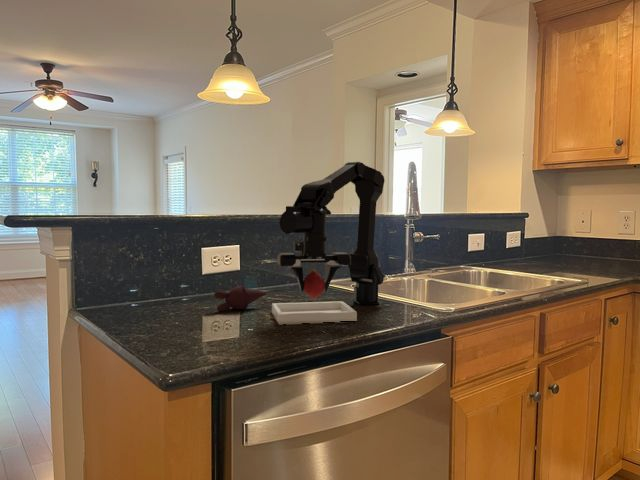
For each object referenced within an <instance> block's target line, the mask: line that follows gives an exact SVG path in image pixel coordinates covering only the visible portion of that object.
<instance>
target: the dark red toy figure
mask: <svg viewBox="0 0 640 480" xmlns="http://www.w3.org/2000/svg"><path fill="white" fill-rule="evenodd" d="M265 295H267V292H266V291H262V290H261V291H260V290H255V289H251V288H245V286H243V285H242V284H240V285H239V286H238V285H237V286H236V287H233V288H231V289H230V290H229V291H225V290H223V289H222V290H217V291H215V292H214V294H213V296H214V298H216V299H219V300H224V301H225V302H223V303H220V304H218V305H217V307H216V310H217V312H218V313H219V312H220V313H221V312H225V311H227V310H229V309H234V310H241V311H242V310H246V309H247V308H248V306H249V305H250V304H252V303H253V302H256V301H257V300H258V299H260V298H262V297H264V296H265Z"/></svg>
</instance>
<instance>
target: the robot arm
mask: <svg viewBox="0 0 640 480" xmlns="http://www.w3.org/2000/svg"><path fill="white" fill-rule="evenodd" d="M385 180H386V179H385V176H384V175H383V173H382V172H381V171H380V170H377V169H376V168H373V167H370V166H368V165H366V164H364V163H363V162H361V161H348V162H345V164H344V165H343V166H341V167H340V168H338V169H337V170H335V171H334V172H333V173H330V174H329V175H327V176H326V177H324V178H323V179H320V180H316V181H312V182H308V183H305V184H304V185H302V186H301V188H300V191H299V194H298V196H297V197H296V199H295V201H294V202H293V205H286V206H285V211H283V212H282V214H281V215H280V219H279V220H278V221H279V222H278V223H279V227H280V229H281V231H282V232H283V233H284V234H286V235H292V234H293V235H295V234H303V237H302V240H301V239H294V240H293V246H292V247H293V252H294V253H293V252H279V253H278V254H277V264H278V265H279V266H280V267H288V268H289V269H290V270H293V273H294V274H295V277H296V280H297V282H298V287H299V289H300V292H301V293H304V290H303V288H304V285H303V281H304V269H303V266H302V264H301V263H324V268H325V270H324V271H325V273H324V279H323V280H324V282H325V289H324V291H323V292H327V291H328V289H329V287H330V284H331V281H332V280H333V277H334V276H335V274H336V272H337V270H338V269H341V267H342V266H348V267H347V268H348V270H349V272H348V273H349V276H350V281H351V282H352V283H354V282H355V286H354V287H353V301H354V302H355V303H357V304H358V305H360V304H364V305H380V304H381V302H380V301H379V285H382V284H383V283H384V279H385V275H384V274H383V273H382V271H381V269H380V268H379V259H378V256H377V254H376V252H375V249H374V246H375V245H374V243H375V231H376V229H375V227H376V216H377V215H376V214H377V202H378V200H379V199H380V197H381V195H382V194H383V191H384V186H385V185H384V184H385ZM349 183H352V185H354V188H355V189H354V191H355V193H356V195H357V198H358V200H359V208H358V209H359V210H358V222H357V223H358V225H357V236H356V237H357V238H356V239H357V240H356V241H357V242H356V248H355V250H354V252H353V253H350V254H349V253H348V252H345V251H343V252H342V251H340V252H339V251H337V252H335V251H334V252H333V251H332V253H331V254H330V255H329V254H327V253H326V241H327V236H326V231H327V230H326V229H327V227H326V226H327V225H326V223H327V215H329V216H330V215H331V214H332V212H331V210H329V209H328V208H327V206H328V204H329V203H331V201H332V200H333V199H334V198H335V193H336V192H338V191H340V189H343V188H344V187H345V186H346V185H348V184H349ZM295 253H300V255H296V254H295ZM379 303H380V304H379Z"/></svg>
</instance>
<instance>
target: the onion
mask: <svg viewBox="0 0 640 480" xmlns="http://www.w3.org/2000/svg"><path fill="white" fill-rule="evenodd" d="M324 280H325V279H324V278H323V276H321V274H320V273H319V272H317V271H316V270H315V268H312V269H311V271H310V272H309V273H308V274H307V275H306V276H305V277H304V278H303V285H304V288H303V292H304V293H305V294H306V295H307V296H308V297H309V298H310V299H311V300H314V299H317V298H318V297H320V296H321V295H322V294H323V293H324V292H325V291H324V289H325V282H324Z"/></svg>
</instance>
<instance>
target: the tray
mask: <svg viewBox="0 0 640 480" xmlns="http://www.w3.org/2000/svg"><path fill="white" fill-rule="evenodd" d="M271 313H272V315H273V317H274V319H275V320H276V322H277V323H278V325H280V326H282V325H283V324H286V325H303V324H302V323H310V324H324V323H323V322H335V323H341V322H340V321H358V320H357V319H358V318H357V317H358V312H357V311H356V309H354V308H352V307H351V306H350V305H348V304H347V303H346V302H344V301H343V300H342V301H341V300H340V301H338V300H337V301H312V302H311V301H310V302H305V301H304V302H277V303H275V302H274V303H273V302H272V303H271Z"/></svg>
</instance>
